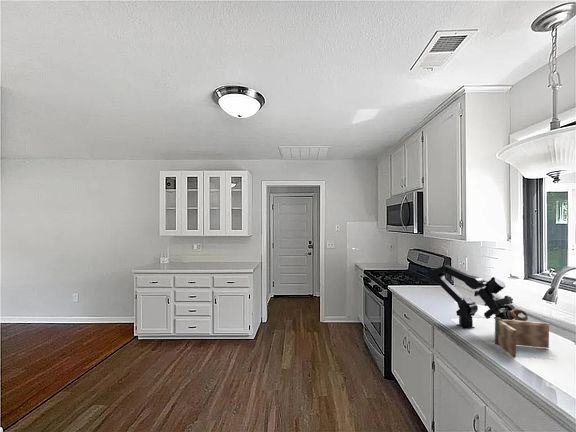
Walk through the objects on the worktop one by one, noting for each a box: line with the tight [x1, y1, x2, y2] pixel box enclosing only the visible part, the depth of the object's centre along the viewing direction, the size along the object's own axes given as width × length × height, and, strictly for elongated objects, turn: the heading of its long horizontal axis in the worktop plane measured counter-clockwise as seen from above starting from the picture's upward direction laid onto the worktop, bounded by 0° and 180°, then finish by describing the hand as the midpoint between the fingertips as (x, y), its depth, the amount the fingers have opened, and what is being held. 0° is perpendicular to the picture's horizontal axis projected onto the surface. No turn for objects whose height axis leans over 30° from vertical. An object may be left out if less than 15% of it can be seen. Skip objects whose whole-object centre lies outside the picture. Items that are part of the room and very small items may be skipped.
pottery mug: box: [509, 308, 529, 321], centre depth 199 cm, size 12×10×8 cm
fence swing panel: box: [501, 319, 550, 349], centre depth 158 cm, size 19×1×11 cm, turn 77°
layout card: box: [491, 341, 554, 361], centre depth 154 cm, size 17×17×1 cm
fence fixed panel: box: [494, 316, 517, 358], centre depth 154 cm, size 17×2×12 cm, turn 171°
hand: (512, 326), depth 167 cm, fingers closed
